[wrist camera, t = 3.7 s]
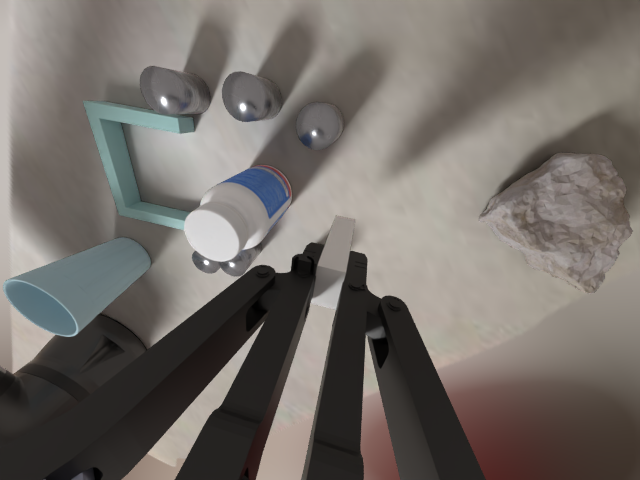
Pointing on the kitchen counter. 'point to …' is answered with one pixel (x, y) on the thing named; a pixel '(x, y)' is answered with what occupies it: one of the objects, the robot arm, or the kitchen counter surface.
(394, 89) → the kitchen counter surface
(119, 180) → the teal bay
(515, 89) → the kitchen counter surface
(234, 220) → the pill bottle
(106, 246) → the cup
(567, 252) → the stone
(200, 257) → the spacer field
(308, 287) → the robot arm
